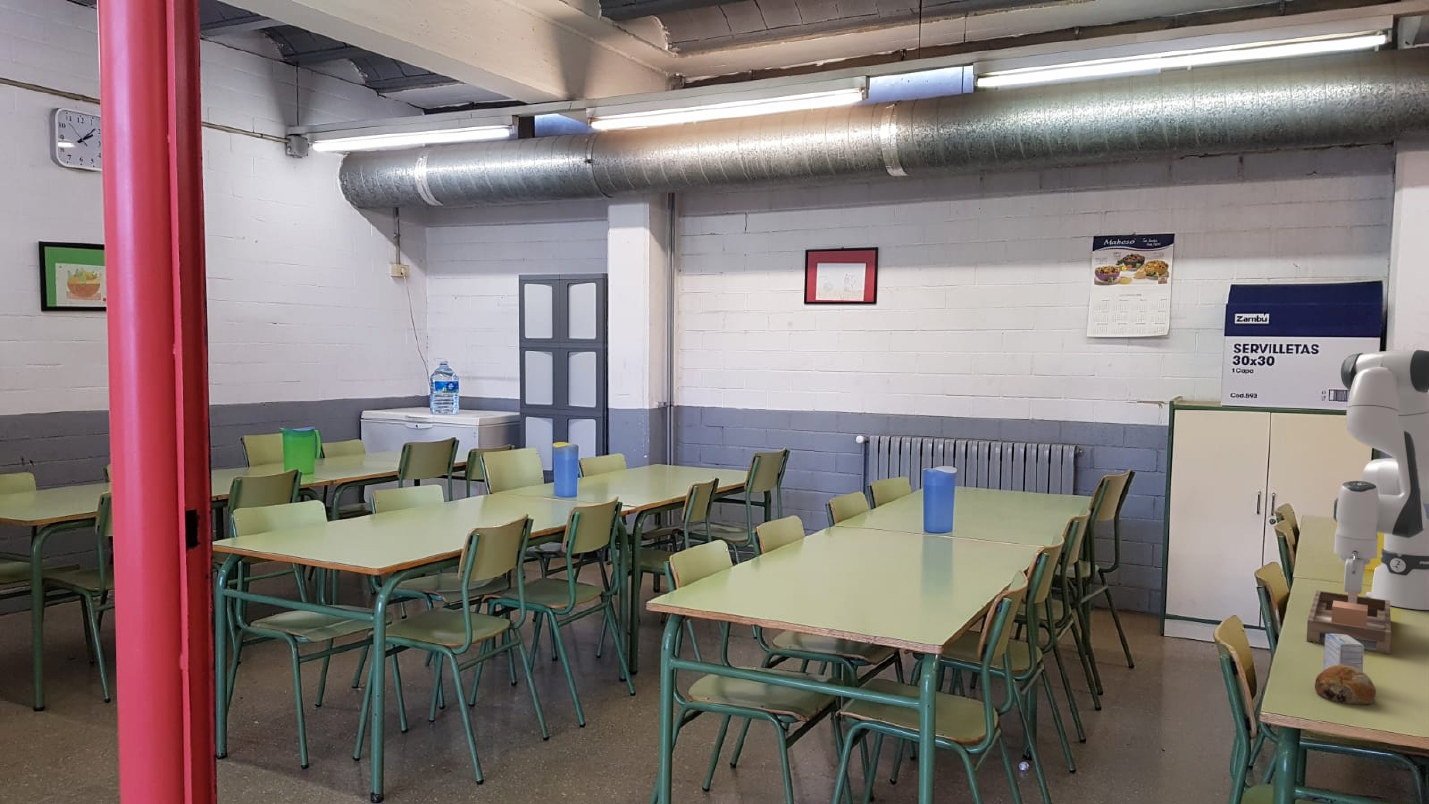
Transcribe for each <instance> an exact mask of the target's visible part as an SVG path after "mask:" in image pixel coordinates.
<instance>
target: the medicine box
mask: <svg viewBox="0 0 1429 804" xmlns="http://www.w3.org/2000/svg"><path fill="white" fill-rule="evenodd" d="M1364 653H1365V650H1364V646H1363V645H1362V644H1361V643H1359V642H1358V641H1356V640H1355V639H1353V638H1352V637H1350V636H1348V635H1344V634H1326V635H1325V644H1324V654H1323V670H1322V671H1324V670H1326V669H1327V668H1329V667H1332V666H1335V665H1348V666H1352V667H1355V668H1357V669H1359V670H1361V671H1362V672H1364Z"/></svg>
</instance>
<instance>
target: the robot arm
mask: <svg viewBox="0 0 1429 804" xmlns="http://www.w3.org/2000/svg"><path fill="white" fill-rule="evenodd" d="M1340 367H1341V368H1340V377H1341V382H1342V385H1343V386H1344V387H1345V388H1346V389H1347V390H1348V391H1349V393H1348V399H1347V405H1346V406H1347V407H1346V417H1345V418H1346V420H1345V421H1346V429H1347V431H1348V433H1349V434H1350V435H1351V436H1352V437H1353V438H1354V439H1355V440H1357V441H1358V442H1359V443H1361V444H1363V445H1365V446H1367V447H1369V448H1372V449H1375V450H1377V451H1380V452H1382V453H1384V454H1386V455H1389V456H1390V457H1388V458H1387V457H1386V458H1376V459H1375V458H1374V459H1373V460H1370V461H1369V462H1368V463H1367V464H1366V465H1365V467H1364V468H1363V470H1362V477H1361V478H1362V480H1351V481H1346V482H1343V483H1342V484H1341V485H1340V488H1339V493H1338V497H1337V498H1336V499H1334V503H1333V504H1334V505H1333V520H1334V521H1335V522H1336V525H1337V526H1336V530H1335V532H1334V546H1333V547H1334V548H1333V554H1334V555H1337V556H1339V561H1340V562H1343V563H1344V578H1343V579H1344V580H1343V591H1344V592H1345V593H1347V595H1348V603H1355V604H1357V596H1358V595H1359V594H1360V595H1361V594H1362V592H1363V583H1364V581H1363V580H1364V574H1365V570H1366V566H1368V565H1370V564H1371V560H1373V559H1377V558H1378V545H1379V544H1378V543H1379V535H1378V534H1383V537H1384V538H1383V548H1382V549H1381V552H1380V562H1381V563H1380V564H1379V565H1378V566H1376V567H1375V568H1374V573H1373V579H1372V586H1371V591H1366V592H1365V597H1368V598H1375V599H1382V600H1390V607H1391V606H1393V607H1397V608H1402V609H1410V610H1423V611H1425V610H1426V611H1429V518H1428V517H1427V512H1426V508H1425V506H1424V504H1427V505H1429V350H1424V349H1416V350H1407V349H1406V350H1405V349H1395V350H1394V349H1392V350H1391V349H1389V350H1387V351H1386V350H1385V351H1374V352H1366V353H1363V352H1360V353H1354V354H1352V355H1348V356H1347V357H1346V359H1344V360H1343V362H1342V363H1341V366H1340Z"/></svg>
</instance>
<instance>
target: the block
mask: <svg viewBox="0 0 1429 804" xmlns="http://www.w3.org/2000/svg"><path fill="white" fill-rule="evenodd" d="M1367 611H1368V605H1362V604H1355V603H1348V602H1341V601H1333V605H1332V617H1331V622H1332V623H1339V624H1345V625H1352V626H1358V627H1365V628H1366V626H1367Z"/></svg>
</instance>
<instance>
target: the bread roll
mask: <svg viewBox="0 0 1429 804" xmlns="http://www.w3.org/2000/svg"><path fill="white" fill-rule="evenodd" d="M1314 689H1315V691H1316V693H1317V694H1318V695H1319V696H1320V697H1322V698H1324V699H1326V700H1330V701H1332V702H1336V703H1342V704H1348V705H1358V706H1364V705H1370V704H1372V703H1373V702H1375V700H1376V694H1377V690H1376V689H1377V688H1376V687H1375V684H1374V683H1373V681H1372V679H1371V678H1370V677H1369V676H1368V675H1367V674H1366V673H1365V672H1364V671H1363V672H1362V671H1361V670H1359V669H1357V668H1355V667H1352V666H1348V665H1335V666H1332V667H1329V668H1327V669H1326V670H1324V671H1323V670H1322V671H1321V672H1320V673H1318V675H1317V676H1316V679H1315V681H1314Z"/></svg>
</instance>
